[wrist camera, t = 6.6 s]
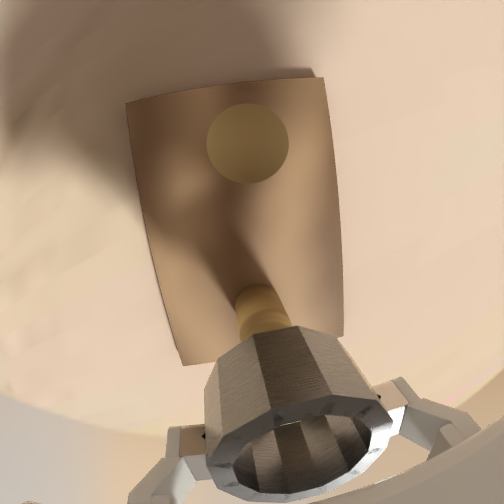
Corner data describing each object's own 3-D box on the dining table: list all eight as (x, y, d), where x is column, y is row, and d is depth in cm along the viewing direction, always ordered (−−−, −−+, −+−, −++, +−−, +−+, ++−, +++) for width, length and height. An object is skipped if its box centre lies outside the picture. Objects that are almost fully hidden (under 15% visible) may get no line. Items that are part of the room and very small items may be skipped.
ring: (353, 312, 12) (404, 371, 8) (348, 418, 14) (377, 476, 10) (190, 344, 11) (186, 421, 8) (223, 445, 13) (229, 511, 9)
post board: (318, 80, 18) (377, 43, 10) (338, 329, 23) (384, 395, 16) (130, 105, 17) (80, 77, 9) (183, 358, 22) (176, 438, 15)
